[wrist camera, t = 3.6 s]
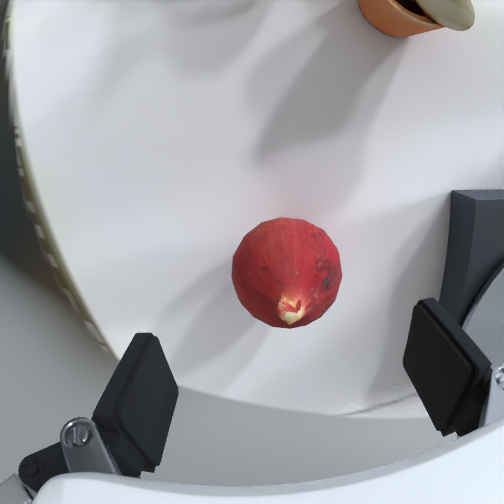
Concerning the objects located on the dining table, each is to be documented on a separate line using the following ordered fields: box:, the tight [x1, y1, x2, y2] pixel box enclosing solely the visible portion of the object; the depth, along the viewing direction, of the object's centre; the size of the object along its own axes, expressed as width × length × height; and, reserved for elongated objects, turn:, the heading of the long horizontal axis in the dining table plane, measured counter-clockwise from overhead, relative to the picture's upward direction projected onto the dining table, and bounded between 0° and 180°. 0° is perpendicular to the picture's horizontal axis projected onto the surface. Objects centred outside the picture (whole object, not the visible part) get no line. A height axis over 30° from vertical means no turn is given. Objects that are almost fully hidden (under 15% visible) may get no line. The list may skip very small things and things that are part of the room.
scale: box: [439, 190, 504, 328], centre depth 18 cm, size 18×14×3 cm
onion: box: [232, 217, 342, 329], centre depth 15 cm, size 6×6×8 cm
